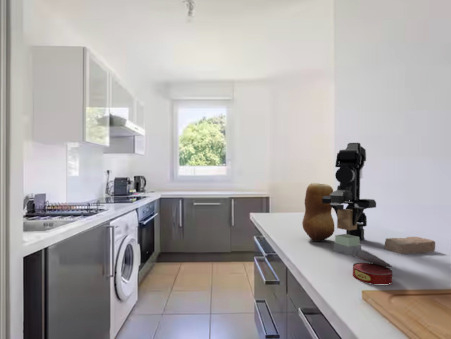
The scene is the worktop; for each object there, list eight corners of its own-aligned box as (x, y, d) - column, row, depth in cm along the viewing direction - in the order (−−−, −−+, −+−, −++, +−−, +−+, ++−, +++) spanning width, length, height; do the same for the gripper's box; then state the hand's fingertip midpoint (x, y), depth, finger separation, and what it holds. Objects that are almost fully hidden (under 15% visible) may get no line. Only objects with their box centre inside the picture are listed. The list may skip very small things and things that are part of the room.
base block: (333, 251, 107) (333, 243, 107) (343, 248, 111) (344, 241, 111) (351, 256, 101) (351, 247, 101) (361, 253, 105) (361, 245, 105)
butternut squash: (338, 244, 116) (339, 184, 116) (306, 243, 116) (307, 183, 117) (327, 237, 130) (328, 183, 130) (298, 236, 130) (299, 182, 130)
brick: (400, 254, 104) (400, 242, 104) (383, 248, 112) (383, 236, 112) (436, 253, 108) (436, 240, 108) (416, 247, 116) (417, 236, 116)
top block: (335, 243, 107) (335, 235, 107) (345, 241, 110) (345, 234, 110) (348, 246, 102) (349, 238, 102) (359, 245, 105) (359, 237, 105)
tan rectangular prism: (337, 228, 106) (337, 209, 106) (344, 226, 109) (344, 208, 109) (349, 230, 102) (350, 211, 102) (356, 229, 105) (357, 210, 105)
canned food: (351, 290, 82) (343, 255, 86) (388, 288, 81) (378, 253, 85) (363, 285, 72) (353, 246, 77) (405, 283, 71) (392, 243, 76)
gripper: (313, 182, 109) (312, 222, 109) (361, 184, 94) (360, 231, 94) (330, 182, 115) (329, 220, 115) (377, 184, 100) (376, 227, 100)
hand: (347, 224), depth 106 cm, fingers closed on tan rectangular prism, 5 cm apart
